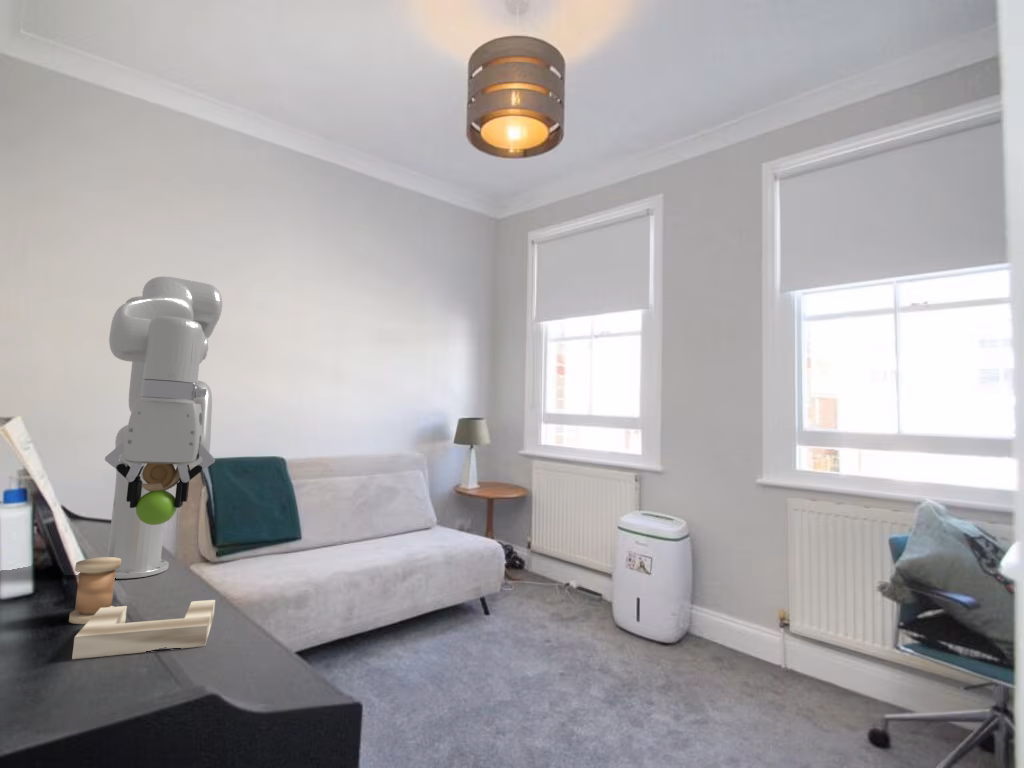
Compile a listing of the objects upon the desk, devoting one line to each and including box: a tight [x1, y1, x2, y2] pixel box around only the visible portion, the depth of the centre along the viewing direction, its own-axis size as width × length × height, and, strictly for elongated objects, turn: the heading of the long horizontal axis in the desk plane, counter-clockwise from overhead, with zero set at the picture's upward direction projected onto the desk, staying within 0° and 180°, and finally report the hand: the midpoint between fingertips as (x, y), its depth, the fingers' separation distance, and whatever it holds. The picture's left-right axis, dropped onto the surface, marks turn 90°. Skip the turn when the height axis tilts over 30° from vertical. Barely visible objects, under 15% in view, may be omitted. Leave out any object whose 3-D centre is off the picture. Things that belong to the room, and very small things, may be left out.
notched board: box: [71, 599, 216, 660], centre depth 82 cm, size 12×16×3 cm
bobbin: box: [68, 556, 121, 625], centre depth 88 cm, size 6×6×9 cm
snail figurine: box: [136, 463, 181, 525], centre depth 85 cm, size 5×6×12 cm
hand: (157, 505), depth 85 cm, fingers closed on snail figurine, 5 cm apart
